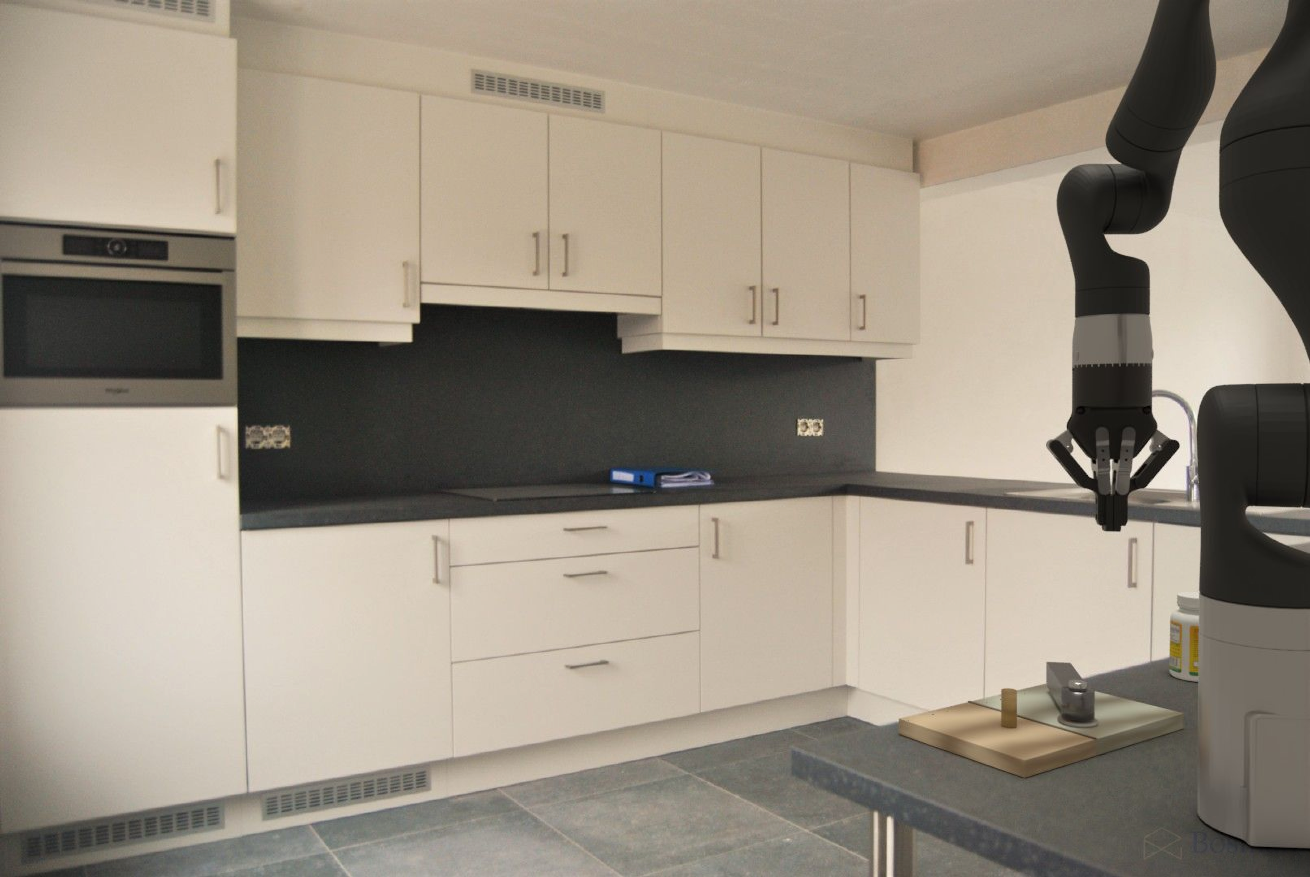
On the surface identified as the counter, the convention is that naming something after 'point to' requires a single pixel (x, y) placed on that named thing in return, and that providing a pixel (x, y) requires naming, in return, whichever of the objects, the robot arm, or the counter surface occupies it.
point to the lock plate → (1036, 729)
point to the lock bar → (1070, 691)
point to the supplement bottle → (1185, 637)
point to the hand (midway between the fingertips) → (1110, 530)
